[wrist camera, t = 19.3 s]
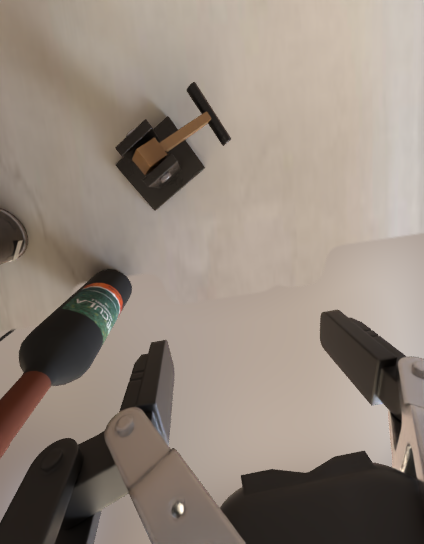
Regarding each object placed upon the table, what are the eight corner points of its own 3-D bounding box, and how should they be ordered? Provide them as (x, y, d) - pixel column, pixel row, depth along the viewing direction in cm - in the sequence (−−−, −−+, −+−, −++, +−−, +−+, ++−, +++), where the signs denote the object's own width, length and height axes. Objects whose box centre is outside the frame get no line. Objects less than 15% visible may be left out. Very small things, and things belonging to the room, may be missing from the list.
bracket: (168, 118, 35) (156, 76, 22) (204, 168, 38) (212, 157, 25) (117, 165, 37) (77, 152, 24) (155, 210, 39) (139, 219, 27)
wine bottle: (83, 276, 42) (-126, 446, 14) (121, 264, 42) (-15, 410, 14) (102, 309, 45) (-43, 508, 17) (138, 298, 45) (51, 478, 17)
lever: (190, 91, 30) (198, 77, 28) (225, 144, 33) (235, 135, 31) (112, 136, 25) (115, 123, 23) (161, 195, 28) (168, 188, 26)
